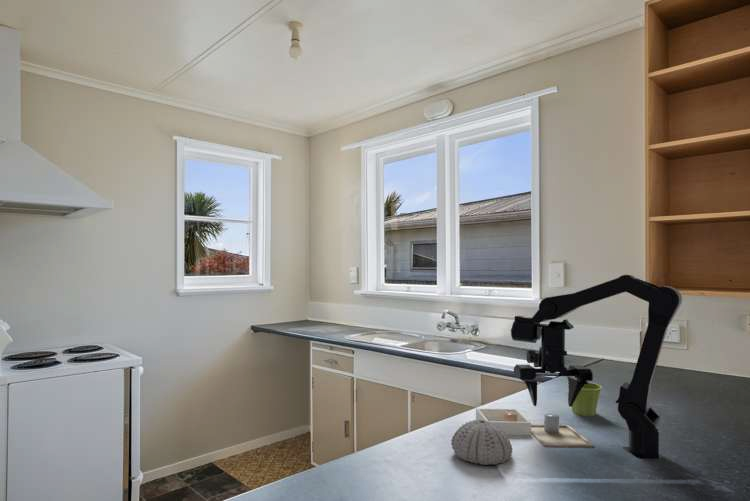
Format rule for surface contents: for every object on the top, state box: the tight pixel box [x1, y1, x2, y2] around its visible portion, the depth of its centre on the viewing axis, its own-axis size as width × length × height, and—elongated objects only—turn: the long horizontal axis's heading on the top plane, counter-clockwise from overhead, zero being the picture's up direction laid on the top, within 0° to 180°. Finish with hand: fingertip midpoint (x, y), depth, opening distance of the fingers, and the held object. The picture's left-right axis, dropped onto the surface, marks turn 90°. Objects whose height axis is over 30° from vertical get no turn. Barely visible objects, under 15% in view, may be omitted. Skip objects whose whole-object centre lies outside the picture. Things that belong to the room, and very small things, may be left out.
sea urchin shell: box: [450, 419, 513, 466], centre depth 105 cm, size 13×14×8 cm
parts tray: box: [531, 423, 595, 448], centre depth 117 cm, size 14×12×1 cm
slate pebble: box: [543, 412, 560, 434], centre depth 121 cm, size 4×4×4 cm
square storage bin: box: [475, 407, 532, 436], centre depth 123 cm, size 11×11×4 cm
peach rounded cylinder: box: [503, 411, 518, 422], centre depth 121 cm, size 4×4×4 cm
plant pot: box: [566, 381, 603, 417], centre depth 137 cm, size 9×9×9 cm
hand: (552, 406), depth 121 cm, fingers open, 9 cm apart
